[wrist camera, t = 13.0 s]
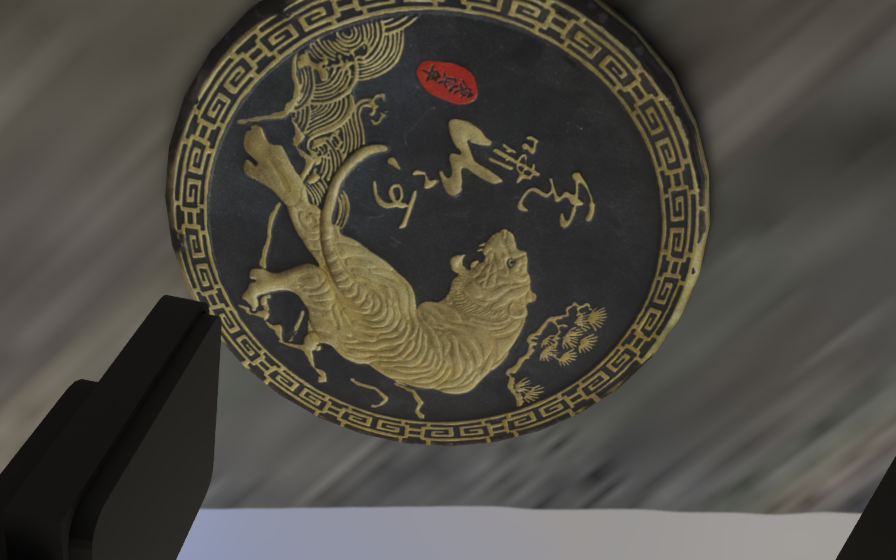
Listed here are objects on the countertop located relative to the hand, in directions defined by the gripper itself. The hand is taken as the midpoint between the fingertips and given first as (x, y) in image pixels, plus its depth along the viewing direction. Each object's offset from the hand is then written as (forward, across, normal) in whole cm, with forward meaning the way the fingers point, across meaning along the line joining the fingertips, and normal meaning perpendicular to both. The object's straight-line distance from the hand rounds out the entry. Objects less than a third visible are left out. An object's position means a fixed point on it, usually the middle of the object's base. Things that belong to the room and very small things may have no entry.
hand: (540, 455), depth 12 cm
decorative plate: (+34, +2, +13) cm, 37 cm away
